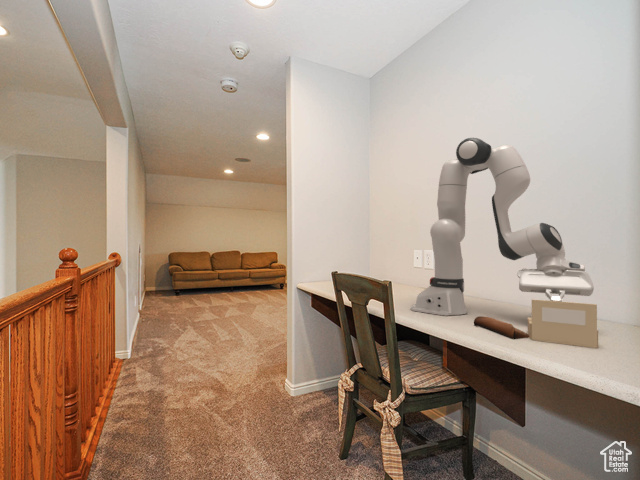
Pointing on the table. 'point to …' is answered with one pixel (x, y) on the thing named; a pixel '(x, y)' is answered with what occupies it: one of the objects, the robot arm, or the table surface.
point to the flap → (564, 323)
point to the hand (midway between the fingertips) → (556, 302)
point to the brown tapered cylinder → (500, 327)
